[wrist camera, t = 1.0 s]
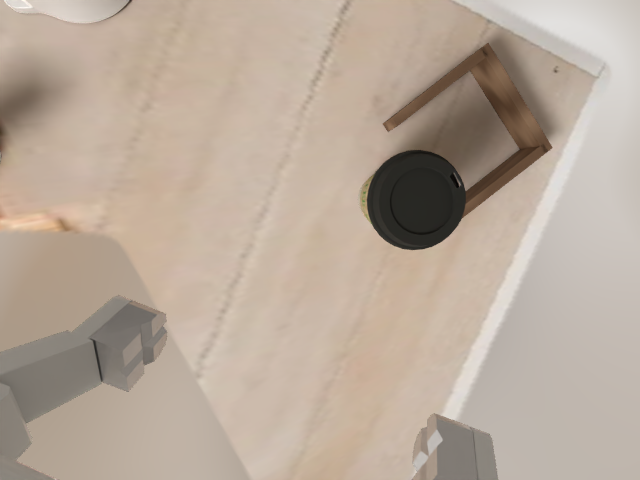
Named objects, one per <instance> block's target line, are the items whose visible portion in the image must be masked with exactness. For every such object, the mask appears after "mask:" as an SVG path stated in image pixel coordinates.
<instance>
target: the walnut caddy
mask: <svg viewBox="0 0 640 480" xmlns="http://www.w3.org/2000/svg"><path fill="white" fill-rule="evenodd" d="M469 70H470V71H471V73H472V74H473V76H474V77H475V79H476V81H477V82H478V84H479V85H480V87H481V89H482V90H483V92H484V93H485V95H486V96H487V98H488V100H489V101H490V103H491V104H492V106H493V108H494V109H495V111H496V112H497V114H498V115H499V117H500V119H501V120H502V122H503V123H504V125H505V127H506V128H507V130H508V131H509V133H510V134H511V136H512V138H513V139H514V141H515V142H516V144H517V146H518V147H519V149H520V150H519V151H518V152H516V153H515V154H514V155H512V156H511V157H510V158H509V159H507V160H506V161H505V162H503V163H502V164H501V165H500V166H498V167H497V168H496V169H494V170H493V171H492V172H491V173H489V174H488V175H487V176H485V177H484V178H483V179H482V180H480V181H479V182H478V183H476V184H475V185H474V186H473V187H471V188H470V189H469V190H467V191H466V192H465V193H466V205H465V210H464V214H463V216H462V218H463V217H464V216H466V215H467V214H468V213H469V212H471V211H472V210H473V209H475V208H476V207H477V206H478V205H480V204H481V203H482V202H484V201H485V200H486V199H487V198H489V197H490V196H491V195H493V194H494V193H495V192H496V191H498V190H499V189H500V188H502V187H503V186H504V185H505V184H507V183H508V182H509V181H511V180H512V179H513V178H514V177H516V176H517V175H518V174H520V173H521V172H522V171H523V170H525V169H526V168H527V167H529V166H530V165H531V164H532V163H534V162H535V161H536V160H538V159H539V158H540V157H541V156H543V155H544V154H545V153H547V152H548V151H549V150H550V149H552V146H551V144H550V143H549V141H548V139H547V138H546V136H545V135H544V133H543V131H542V130H541V128H540V126H539V125H538V123H537V121H536V120H535V118H534V117H533V115H532V113H531V112H530V110H529V108H528V107H527V105H526V104H525V102H524V100H523V99H522V97H521V95H520V94H519V92H518V90H517V89H516V87H515V86H514V84H513V82H512V81H511V79H510V77H509V76H508V74H507V73H506V71H505V69H504V68H503V66H502V64H501V63H500V61H499V59H498V58H497V56H496V55H495V53H494V51H493V50H492V48H491V46H490V45H489V43H487V44H486V45H485V46H483V47H482V48H481V49H479V50H478V51H476V52H475V53H474V54H472V55H471V56H470V57H468V58H467V59H466V60H465V61H463V62H462V63H461V64H459V65H458V66H457V67H456V68H454V69H453V70H452V71H450V72H449V73H448V74H447V75H445V76H444V77H443V78H441V79H440V80H439V81H438V82H436V83H435V84H434V85H432V86H431V87H430V88H429V89H427V90H426V91H425V92H423V93H422V94H421V95H420V96H418V97H417V98H416V99H414V100H413V101H412V102H411V103H409V104H408V105H407V106H405V107H404V108H403V109H402V110H400V111H399V112H398V113H396V114H395V115H394V116H393V117H391V118H390V119H389V120H387V121H386V122H385V123H384V124H383V125H384V126H385V128H386V129H387V131H390V130H392V129H393V128H395V127H397V126H398V125H399V124H401V123H402V122H403V121H405V120H406V119H407V118H408V117H410V116H411V115H412V114H414V113H415V112H416V111H418V110H419V109H420V108H421V107H423V106H424V105H425V104H427V103H428V102H429V101H430V100H432V99H433V98H434V97H436V96H437V95H438V94H439V93H441V92H442V91H443V90H445V89H446V88H447V87H448V86H450V85H451V84H452V83H454V82H455V81H456V80H457V79H459V78H460V77H461V76H463V75H464V74H465V73H466V72H468V71H469Z"/></svg>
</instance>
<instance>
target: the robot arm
mask: <svg viewBox="0 0 640 480" xmlns="http://www.w3.org/2000/svg"><path fill="white" fill-rule="evenodd" d="M4 1H5V3H6V4H7V5H8V6H9V7H10V8H12V9H13V10H14V11H16V12H19V13H43V14H47V15H50V16H53V17H55V18H58V19H61V20H64V21H68V22H73V23H92V22H98V21H101V20H104V19H107V18H109V17H111V16H113V15H114V14H116V13H117V12H119V11H120V10H121V9H122V8H123V7H124V6H125V5H126V4H127V3H128V2H129V0H4ZM165 322H166V314H165V313H163V312H160V311H158V310H155V309H153V308H150V307H148V306H145V305H143V304H140V303H138V302H136V301H133V300H131V299H128V298H125V297H123V296H120V295H118V296H116V297H113V298H112V299H110V300H109V301H108V302H107V303H106V304H104V305H103V306H102V307H101V308H100V309H98V310H97V311H96V312H95V313H94V314H93V315H91V316H90V317H89V318H88V319H86V320H85V321H84V322H83V323H82V324H81V325H79V326H78V327H77V328H76V329H75V330H73V331H72V332H70V331H68V330H67V331H64V332H61V333H57V334H54V335H51V336H48V337H45V338H42V339H39V340H36V341H33V342H30V343H27V344H24V345H20V346H18V347H14V348H11V349H8V350H5V351H2V352H0V480H58V479H56V478H54V477H52V476H49V475H47V474H45V473H43V472H40V471H38V470H36V469H34V468H31V467H29V466H27V465H25V464H23V463H20V462H18V461H16V460H17V459H18V458H19V457H20V456H21V455H22V454H23V452H24V451H25V450H26V449H27V448H28V447H29V446H30V445H31V444H32V436H31V434H30V431H29V429H28V427H27V425H26V423H28V422H30V421H32V420H33V419H35V418H38V417H39V416H41V415H43V414H45V413H47V412H49V411H51V410H53V409H55V408H57V407H58V406H60V405H62V404H64V403H66V402H68V401H70V400H72V399H74V398H76V397H78V396H79V395H81V394H83V393H85V392H87V391H89V390H91V389H93V388H95V387H97V386H98V385H100V384H101V382H103V383H106V384H108V385H111V386H114V387H117V388H119V389H122V390H124V391H127V392H129V390H131V388H132V387H133V386H134V385H135V383H136V382H137V381H138V380H139V379H140V378H141V376H142V375H143V374H144V365H147V364H149V363H151V362H154V361H155V360H156V358H157V357H158V356H159V355H160V353H161V351H162V350H163V347H164V346H165V343H166V339H167V331H166V330H165V328H164V327H163V325H164V324H165ZM413 465H414V467H415V469H416V471H417V473H416V475H415V476H414V477H413V479H412V480H498V475H497V469H496V462H495V455H494V449H493V442H492V438H491V436H490V434H488V433H486V432H483V431H480V430H478V429H475V428H472V427H469V426H468V425H465V424H463V423H460V422H457V421H454V420H451V419H449V418H446V417H443V416H440V415H437V414H435V413H434V414H432V415H431V416H430V417H429V418H428V420H427V427H425V428H422V429H421V430H420V432H419V434H418V435H417V438H416V441H415V444H414V451H413Z"/></svg>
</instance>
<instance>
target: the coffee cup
mask: <svg viewBox="0 0 640 480" xmlns="http://www.w3.org/2000/svg"><path fill="white" fill-rule="evenodd" d="M453 173H454V174H455V175H454V174H453ZM455 176H456V177H455ZM456 178H457V179H458V181H459V183H460V185H461V186H460V187H459V184H458V182H457V179H456ZM358 203H359V207H360V209H361V211H362V213H363V214H364V216H365V217H366V218H367V220H368V221H369V222H370V223H371V224H372V225H373V227H374V229H375V230H376V231H377V233H378V234H379V235H380V236H381V237H382V238H383V239H384V240H385V241H387V242H388V243H390V244H392V245H394V246H396V247H399V248H402V249H408V250H419V249H426V248H429V247H432V246H434V245H436V244H438V243H440V242H442V241H443V240H444V239H446V238H447V237H448V236H449V235H450V234H451V233H452V232H453V231H454V230H455V228H456V227H457V226H458V224H459V222H460V221H461V219H462V216H463V214H464V210H465V205H466V193H465V188H464V184H463V182H462V179H461V177H460V176H459V174H458V172H457V171H456V170H455V168H454V167H453V166H452V165H451V164H450V163H449V162H448V161H447V160H446V159H444V158H443V157H441V156H439V155H437V154H434V153H432V152H428V151H422V150H412V151H406V152H402V153H399V154H397V155H395V156H393V157H391V158H390V159H389V160H387V161H386V162H385V163H383V164H382V166H381V167H380V168H379V169H378V170H377V171H376V173H375V174H374V175H372V176H371V177H370V178H369V179H368V180H367V181H366V182H365V183H364V184H363V185H362V187H361V189H360V192H359V196H358Z"/></svg>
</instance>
